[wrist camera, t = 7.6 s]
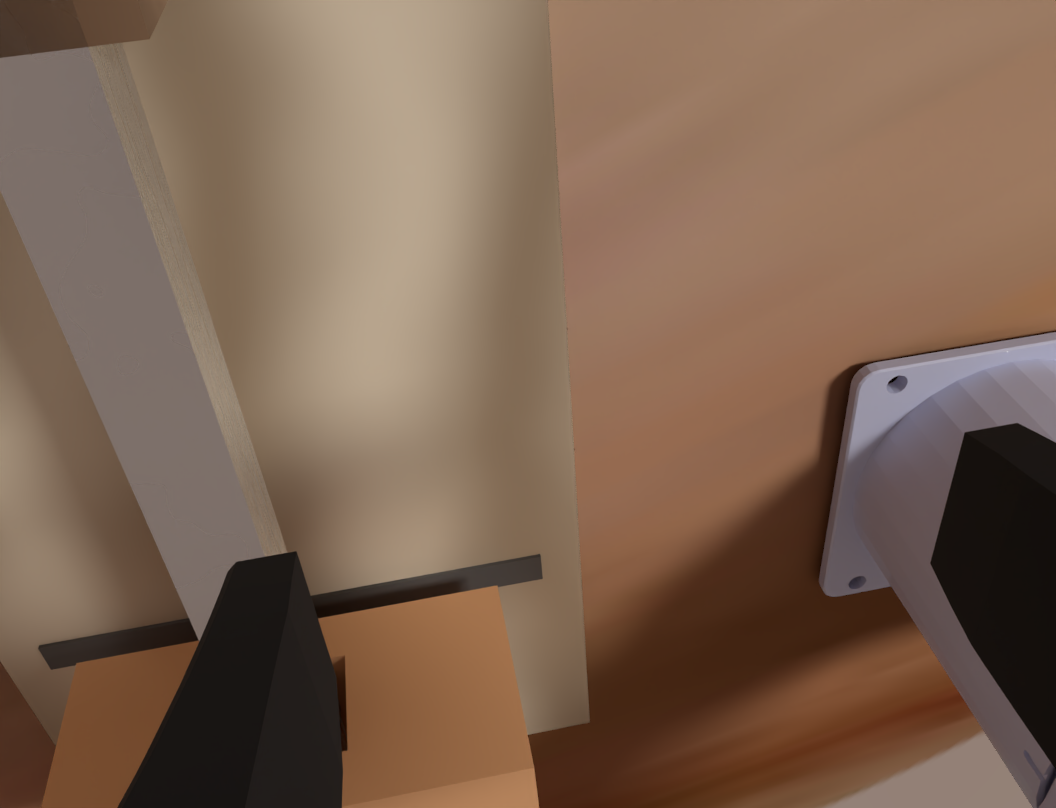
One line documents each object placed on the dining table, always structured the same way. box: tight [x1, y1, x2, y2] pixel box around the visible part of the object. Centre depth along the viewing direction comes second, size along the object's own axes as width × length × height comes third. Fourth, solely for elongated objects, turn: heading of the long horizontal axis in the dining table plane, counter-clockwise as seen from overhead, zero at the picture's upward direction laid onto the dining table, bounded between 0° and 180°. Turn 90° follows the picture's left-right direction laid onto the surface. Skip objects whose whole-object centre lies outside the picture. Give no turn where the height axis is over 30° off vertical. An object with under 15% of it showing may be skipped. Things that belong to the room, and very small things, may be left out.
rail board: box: [0, 0, 590, 746], centre depth 19 cm, size 14×24×5 cm, turn 4°
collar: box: [41, 586, 539, 808], centre depth 21 cm, size 10×4×5 cm, turn 94°
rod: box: [0, 0, 348, 751], centre depth 17 cm, size 2×22×2 cm, turn 4°
